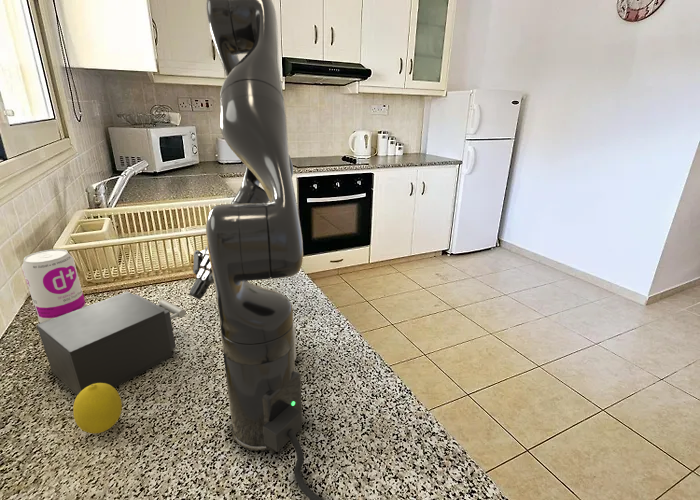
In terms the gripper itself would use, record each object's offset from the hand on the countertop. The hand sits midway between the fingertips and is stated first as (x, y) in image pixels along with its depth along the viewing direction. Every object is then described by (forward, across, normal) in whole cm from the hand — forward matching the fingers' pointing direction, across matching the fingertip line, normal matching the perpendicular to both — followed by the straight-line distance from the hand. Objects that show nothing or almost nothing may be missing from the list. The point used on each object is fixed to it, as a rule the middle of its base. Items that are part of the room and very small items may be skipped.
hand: (194, 297), depth 78 cm
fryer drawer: (+13, 0, -6) cm, 14 cm away
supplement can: (+16, -23, -7) cm, 29 cm away
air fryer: (+16, 0, -8) cm, 18 cm away
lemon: (+22, +14, -14) cm, 29 cm away
